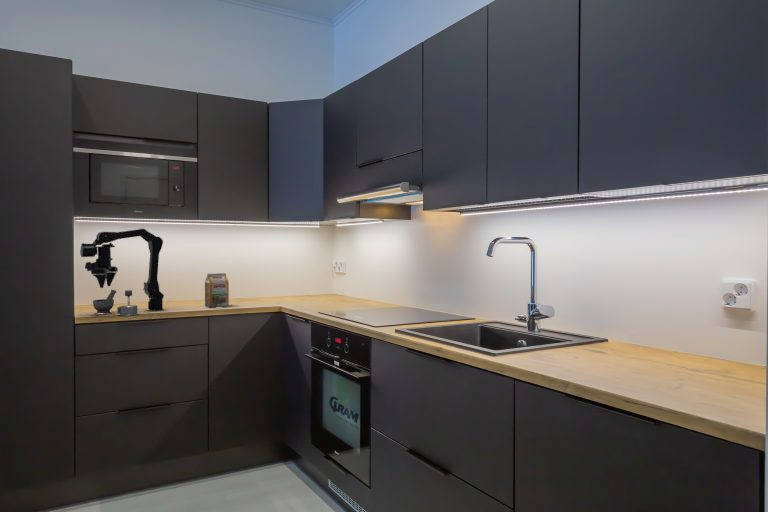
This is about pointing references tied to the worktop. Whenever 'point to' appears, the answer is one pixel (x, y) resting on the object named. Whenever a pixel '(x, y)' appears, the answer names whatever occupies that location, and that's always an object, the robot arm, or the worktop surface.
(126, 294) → the plunger
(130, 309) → the blue-grey block
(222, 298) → the printed carton
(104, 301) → the mortar and pestle
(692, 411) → the worktop surface
